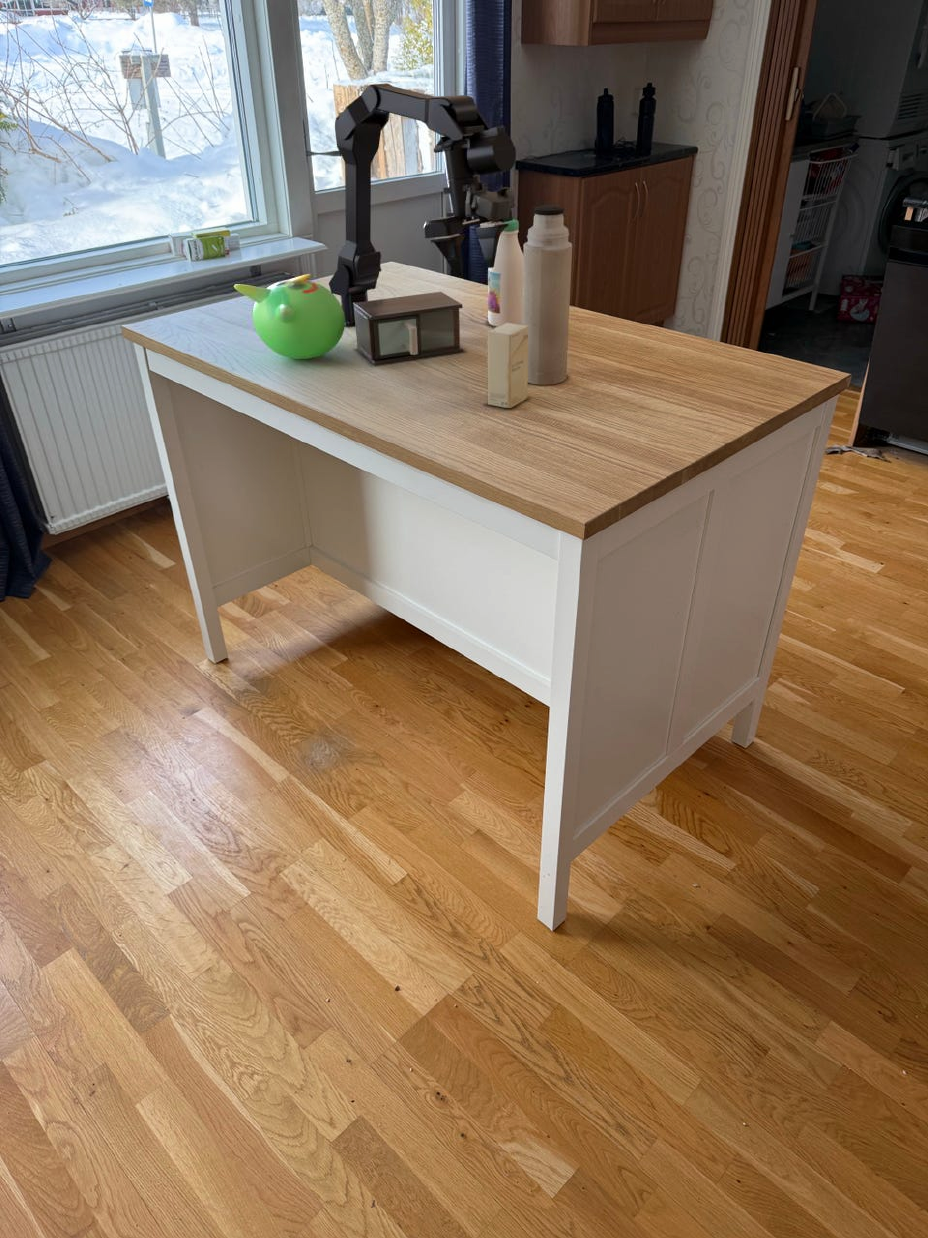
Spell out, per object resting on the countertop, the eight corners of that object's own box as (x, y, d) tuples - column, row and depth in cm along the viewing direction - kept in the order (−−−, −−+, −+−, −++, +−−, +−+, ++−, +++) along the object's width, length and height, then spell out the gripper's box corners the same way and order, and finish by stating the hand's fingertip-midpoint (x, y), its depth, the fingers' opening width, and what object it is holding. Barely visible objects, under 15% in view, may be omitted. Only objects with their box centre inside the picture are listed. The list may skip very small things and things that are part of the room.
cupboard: (357, 350, 175) (353, 302, 170) (442, 337, 180) (441, 291, 175) (374, 365, 167) (371, 316, 162) (463, 352, 172) (462, 304, 167)
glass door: (375, 358, 167) (372, 320, 163) (420, 351, 170) (418, 313, 166) (385, 366, 163) (382, 327, 159) (431, 359, 166) (429, 321, 162)
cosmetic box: (510, 409, 146) (510, 334, 140) (486, 405, 148) (486, 331, 142) (528, 397, 151) (529, 324, 144) (505, 393, 153) (505, 321, 146)
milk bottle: (525, 317, 191) (527, 216, 180) (524, 328, 185) (525, 224, 174) (489, 317, 192) (489, 216, 181) (486, 327, 185) (486, 224, 174)
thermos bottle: (528, 368, 164) (531, 201, 148) (570, 372, 161) (578, 203, 146) (516, 382, 157) (518, 209, 142) (560, 386, 155) (567, 211, 140)
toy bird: (365, 355, 172) (358, 275, 164) (295, 377, 162) (284, 293, 154) (306, 337, 182) (297, 261, 174) (237, 357, 172) (224, 278, 164)
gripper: (464, 179, 146) (478, 279, 153) (531, 166, 158) (541, 260, 165) (414, 186, 152) (429, 282, 160) (482, 173, 164) (493, 263, 171)
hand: (475, 272), depth 164 cm, fingers open, 9 cm apart
